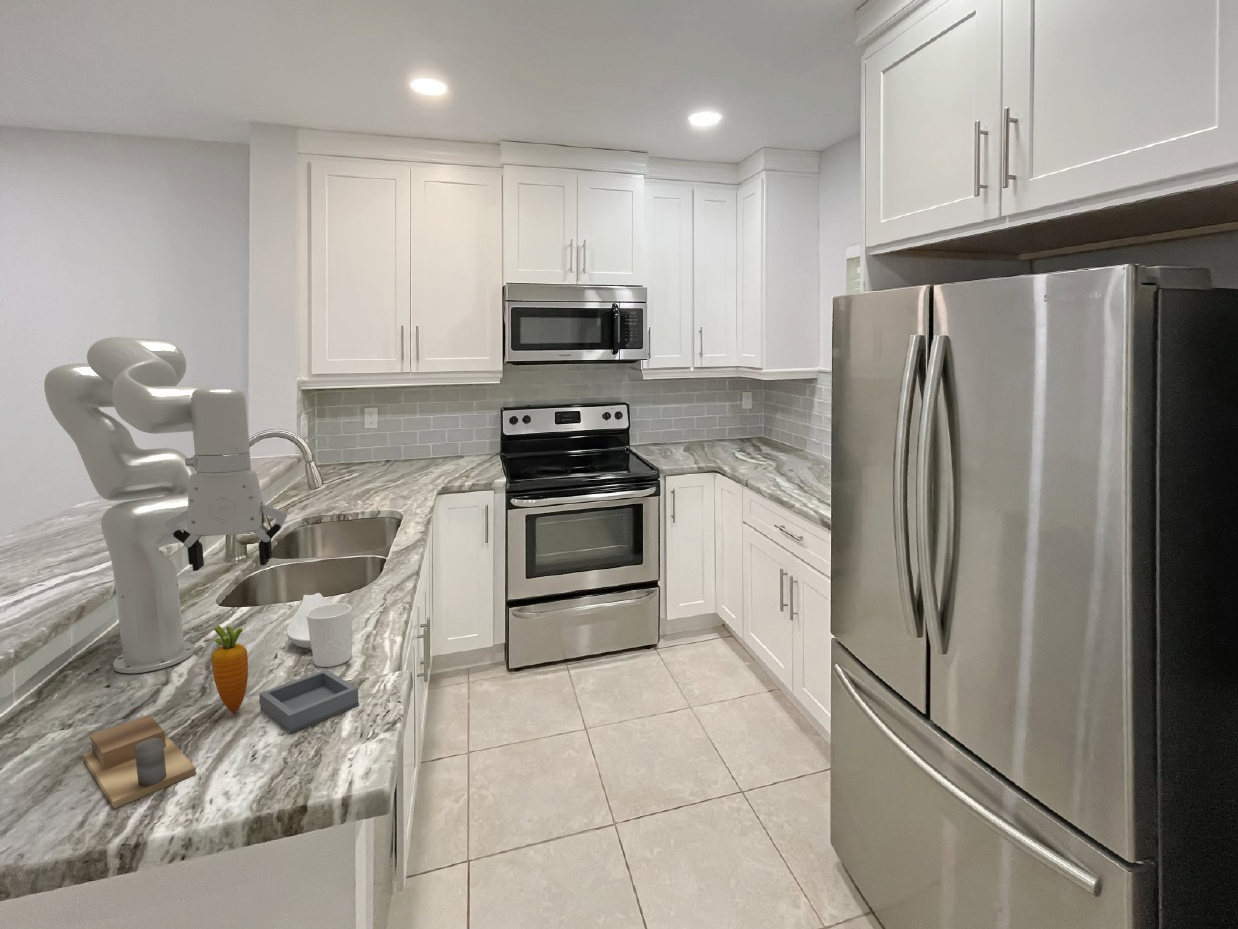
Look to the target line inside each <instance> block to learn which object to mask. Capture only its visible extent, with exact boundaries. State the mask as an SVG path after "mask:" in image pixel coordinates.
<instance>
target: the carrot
mask: <svg viewBox="0 0 1238 929" xmlns="http://www.w3.org/2000/svg"><path fill="white" fill-rule="evenodd" d="M225 629H226V631H225V630H224V629H223V627H222V626H221V625H217V626H215V627H214V629H213V630H214V632H215V633H216V634H217V635H218V637H219V638H215V639H213V641H214V642H215V643H217V644H219V645H220V646H219V647H218V648H217V649H215V650H214V651H213V652H212V653H211V654H210V655H211V657H210V659H211V666H212V667H211V668H212V669H211V670H212V674H213V680H214V685H215V687H216V690H217V693H218V695H219V698H220V700H221V701H222V703H223V705H224V706H225V707H226V708H227V710H228V711H229V712H230V713H231V714H236V713H237V712H238V711H239V710H240V708H241V705H242V703H243V701H244V699H245V696H246V692H247V687H248V686H247V685H248V679H249V677H248V676H249V662H248V661H249V660H248V650H247V648H246V647H245V646H244V645H242V644H241V643H237V641H238V638H239V636H240V635H241V633H242V632H243V627H237V629H236V630H235V632H234V629H233V627H232V626H226V627H225ZM226 632H227V633H228V634H227V633H226Z"/></svg>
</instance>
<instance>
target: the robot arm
mask: <svg viewBox="0 0 1238 929" xmlns="http://www.w3.org/2000/svg"><path fill="white" fill-rule="evenodd" d="M86 353H87V354H86V360H87V363H85V362H83V363H72V364H71V363H69V364H64V365H60V366H56V367H53V368H52V369H51V370H49V371H48V373H47V374H46V376H45V378H44V382H43V383H44V384H43V386H44V393H45V399H46V402H47V405H48V408H49V410H50V412H51V414H52V415H53V417H54V418H55V420H56V421H57V423H58V424H59V425H60V426H61V427H62V430H64V431H65V432H66V434H68V436H69V437H70V438H71V440H72V441H73V442H74V444H75V446H76V448H77V451H78V453H79V455H80V458H81V460H82V463H83V465H84V467H85V470H86V471H87V474H88V476H89V479H90V481H91V483H92V485H93V487H94V489H95V490H96V492H97V494H98V495H99V496H100V497H101V498H102V499H103V500H107V501H109V502H112V501H113V502H118V501H119V502H120V501H121V503H118V504H115V505H113V506H111V507H109V508H108V509H106V510H105V512H104V513H103V515H102V517H101V520H100V524H101V525H100V526H101V531H102V535H103V538H104V541H105V543H106V548H107V550H108V554H109V556H110V561H111V566H112V572H113V581H114V582H113V583H114V588H115V589H114V590H115V596H116V606H117V613H118V617H117V618H118V623H119V624H118V625H119V633H120V641H121V642H120V643H121V649H122V651H121V652H122V654H120V655H119V656H117V657H116V658H115V659H114V660H113V663H112V666H113V670H114V671H115V672H118V673H122V674H141V673H149V672H153V671H158V670H162V669H165V668H169V667H172V666H175V665H176V664H180V663H181V662H183V661H185V660H187V659H188V658H190V657H191V656H192V655H193V654H194V652H195V647H194V644H193V643H192V642H191V641H186V640H184V631H183V620H182V611H181V610H182V609H181V601H180V600H181V599H180V591H179V590H180V588H179V581H178V571H177V568H176V565H175V563H174V562H173V561H172V559H170V558H169V557H168V556H166V555H165V554H164V553H162V551H161V550H160V548H162V547H166V546H169V545H174V544H178V543H181V544H183V546H184V547H186V548H187V558H188V559H187V560H188V565H190V566H192V567H191V568H192V572H197V571H199V570H200V569H201V568H202V567H204V566H205V560H204V549H203V543H202V542H200V539H201V538H204V537H210V536H211V537H214V536H230V535H243V534H251V533H253V534H254V535H255V536H256V537H258V538H259V539H260V541H259V542H258V554H259V564H260V566H261V567H262V566H266V565H267V564H268V563H269V561H270V560H271V559H272V557H273V549H272V539H273V537H274V536H275V535H276V534H277V533H279V531H281V529H282V527H283V525H284V523H285V521H286V520H287V518H288V513H287V512H285V511H283V510H280V509H278V508H275V507H273V506H271V505H267V504H265V503H264V500H263V495H262V489H261V486H260V482H259V478H258V475H257V471H256V470H254V469H252V466H251V452H250V439H249V437H250V436H249V425H248V414H247V412H248V411H247V402H246V395H245V393H244V392H243V391H242V390H241V389H237V388H233V387H232V388H231V387H229V388H228V387H217V386H207V385H205V386H202V385H200V386H196V385H195V386H193V385H192V386H191V385H178V384H179V383H181V381H183V378H184V376H185V373H186V372H187V371H186V370H187V361H186V357H185V355H184V353H183V351H182V349H181V348H180V347H179V346H178V345H176V344H175V343H173V342H172V341H169V340H165V339H157V338H139V337H125V336H124V337H123V336H122V337H119V336H118V337H117V336H114V337H112V336H111V337H107V338H105V337H104V338H102V339H98V340H97V341H95V342H94V343H93V344H92V345H91V346H90V347H89V349H88V351H87V352H86ZM100 408H114V410H115V412H116V413H117V415H118V416H119V417H120V419H122V420H123V421H124V422H126V423H127V424H128V425H130V426H132V427H133V428H134V429H136V430H138V431H140V432H143V433H146V434H153V435H154V434H170V433H184V432H187V433H188V432H192V434H193V446H194V447H193V448H194V454H193V456H192V457H189V458H188V456H187V455H185V454H184V453H183V452H182V451H180V450H178V449H175V448H171V447H170V448H167V447H162V448H151V449H143V448H140V447H138V446H137V444H136V443H135V441H134V439H133V437H132V434H131V432H130V431H129V429H128V428H127V427H126V426H125V425H124V424H123V423H121V422H120V421H119V420H117V419H116V418H114V417H113V416H111V415H109V414H108V413H105V412H103V410H100ZM122 501H123V502H122ZM265 515H266V516H269V517H271V518H274V520H275V521H274V523H273V526H271V527H270V529H269V528H268V527H267V526H266V525H265V517H266V516H265Z"/></svg>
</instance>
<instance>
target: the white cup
mask: <svg viewBox="0 0 1238 929" xmlns="http://www.w3.org/2000/svg"><path fill="white" fill-rule="evenodd" d="M352 608H353V607H352V605H351V604H348V603H342V602H341V603H340V602H339V603H330V604H327V605H322V606H319V607H316V608H313V609H311V610H310V611H308V612H307V614H306V615H307V622H308V630H309V638H310V642H311V649H310V650H311V652H312V660H313V664H314V665H315V666H316V667H319V668H331V667H335V666H339V665H342V664H345V663H347V662H348V661H350V660H351V659H352V655H353V652H352V651H353V648H352V644H353V621H352V620H353V618H352V617H353V616H352V615H353V611H352Z"/></svg>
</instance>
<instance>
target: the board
mask: <svg viewBox="0 0 1238 929" xmlns="http://www.w3.org/2000/svg"><path fill="white" fill-rule="evenodd" d="M165 743H166V747H163V740H162V739H161V738H152V739H148V740H145V741H143V742H141V743H139V744H137V745H136V746H135V748H134V749H135V759H133V760H130V761H128V762H125V763H122V764H120V765H117V766H115V767H112V768H109V769H107V770H104V769H103V767H102V766H101V764H100V763H99V761H98V760H97V758H96V756H95V755H94V753H93V752H92V751H88V752H86V753H83V754H82V758H83V762H84V764H85V765H86V767H87V769H88V770H89V772H90V773H91V775H92V776H93V778H94V780H95V781H96V783H97V784H98V786H99V788H100V789H101V791H102V793H103V794H104V795H105V797H106V799H107V800H108V802H109V804H110V805H111V807H112V809H113V810H115V809H118V808H120V807H122V806H125V805H127V804H129V803H131V802H134V801H136V800H139V799H141V798H144V797H146V796H148V795H150V794H153V793H155V792H157V791H160V790H162V789H165V788H167V787H169V786H173V785H174V784H176V783H179V782H181V781H183V780H187V779H188V778H190V777H193V776H195V775H197V769H196V768H197V767H196V765H194V764H193V763H192V762H191V761H190V760H189V759H188V757H187V756H186V755H185V754H184V753H183V752H182V751H181V750H180V749H179V748H178V746H177V745H176V744H175V743H174V742H173V741H172V740H171V739H170V737H168V735H167V734H166V733H165Z"/></svg>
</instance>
